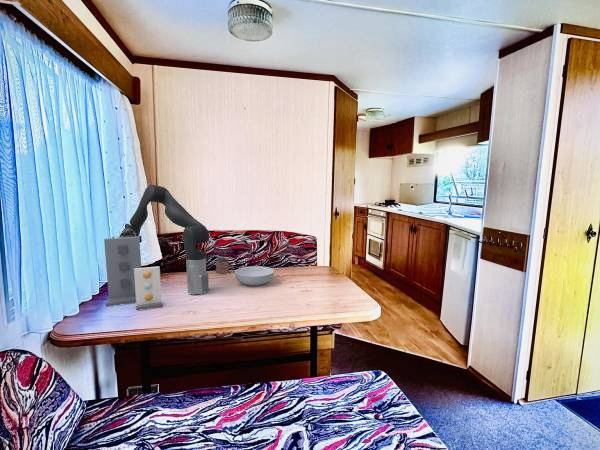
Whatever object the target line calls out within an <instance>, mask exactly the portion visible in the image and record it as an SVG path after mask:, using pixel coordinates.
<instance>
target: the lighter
mask: <svg viewBox="0 0 600 450" xmlns="http://www.w3.org/2000/svg"><path fill="white" fill-rule="evenodd" d="M215 268H216V269H215V270H216V272H215V274H216V273H223V274H222V275H225V274H224V273H229V274H230V261H229V260H228V257H224V256H221V257H220V256H217V257H216V260H215Z"/></svg>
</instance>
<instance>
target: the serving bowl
mask: <svg viewBox="0 0 600 450" xmlns="http://www.w3.org/2000/svg"><path fill="white" fill-rule="evenodd" d="M274 274H275V270H274V269H273V268H271V267H269V266H260V265H254V266H253V265H252V266H244V267H240V268H238V269H236V270H235V271H234V275H235V279H236V280H237V281H238V282H240V283H241V284H244V285H247V286H253V285H255V286H261V285H264V284H267V283H269V282H271V280H272V279H273V278H274Z"/></svg>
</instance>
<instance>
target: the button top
mask: <svg viewBox="0 0 600 450" xmlns="http://www.w3.org/2000/svg"><path fill="white" fill-rule="evenodd" d="M124 253H127V245H123V246H118V254H124Z"/></svg>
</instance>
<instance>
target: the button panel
mask: <svg viewBox="0 0 600 450" xmlns="http://www.w3.org/2000/svg"><path fill="white" fill-rule="evenodd" d="M103 241H104V254H105V255H104V256H105V267H106V278H107V291H108V293H107V294H108V297H107V300H106V302H105V307H114V305H116V306H121V305H120V304H124V305H127V304H126V303H131V304H134V303H133V302H136V292H135V278H134V269H137V268H142V257H141V256H142V255H141V243H140V238H139V237H125V238H117V237H115V238H112V237H109V238H104V239H103ZM123 245H127V253H124V254H118V246H123ZM127 262H128V270H127V271H120V270H119V263H127ZM127 279H129V284H130V287H128V288H121V283H120V280H127Z"/></svg>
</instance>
